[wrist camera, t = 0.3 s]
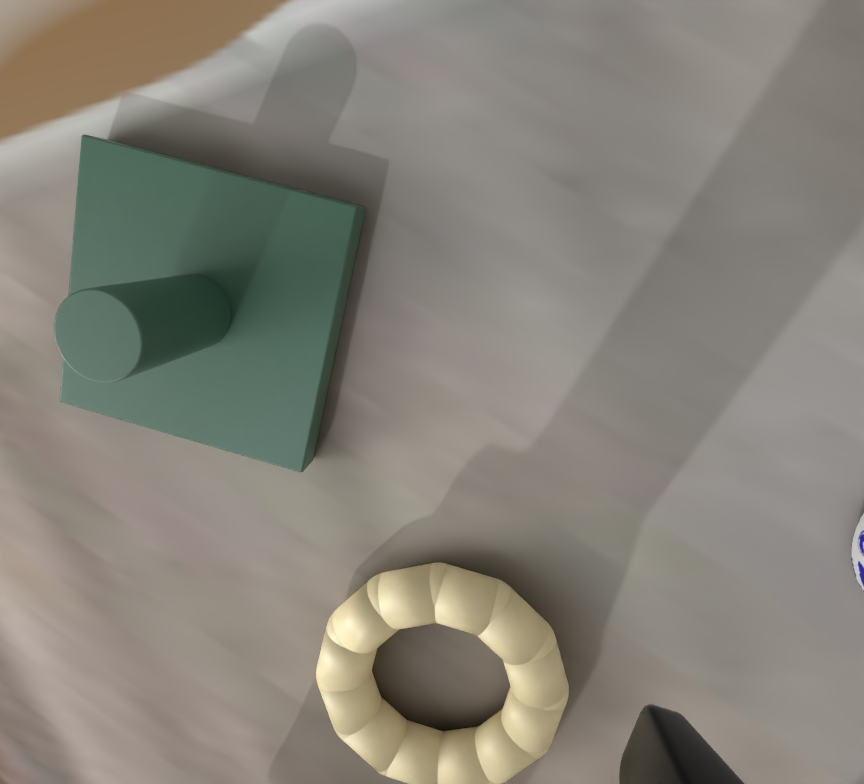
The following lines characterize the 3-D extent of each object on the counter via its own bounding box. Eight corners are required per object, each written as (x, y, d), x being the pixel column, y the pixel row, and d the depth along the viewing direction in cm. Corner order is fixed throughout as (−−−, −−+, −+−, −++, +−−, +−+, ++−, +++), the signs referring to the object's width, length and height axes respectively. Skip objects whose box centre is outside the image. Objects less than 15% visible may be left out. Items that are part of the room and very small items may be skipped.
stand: (313, 461, 23) (238, 544, 17) (81, 393, 23) (-71, 450, 17) (366, 207, 20) (301, 198, 14) (105, 138, 21) (-63, 102, 15)
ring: (524, 788, 25) (524, 834, 23) (308, 719, 25) (291, 759, 24) (595, 596, 22) (602, 631, 20) (354, 525, 23) (339, 552, 21)
